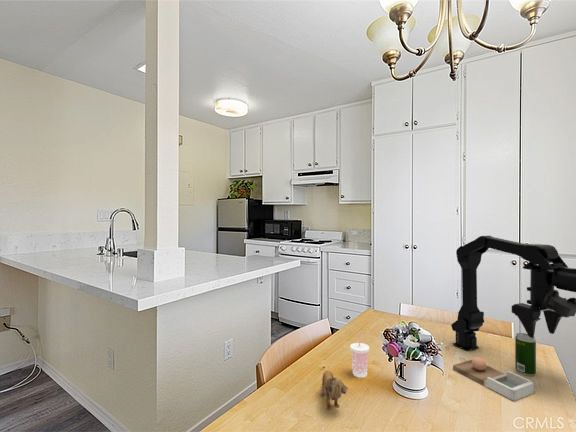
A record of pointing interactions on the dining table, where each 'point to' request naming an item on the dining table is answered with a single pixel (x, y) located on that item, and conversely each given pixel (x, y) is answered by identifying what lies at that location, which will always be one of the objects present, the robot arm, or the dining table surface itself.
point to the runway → (479, 373)
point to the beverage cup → (359, 358)
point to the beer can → (525, 354)
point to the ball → (478, 363)
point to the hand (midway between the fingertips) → (541, 335)
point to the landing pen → (512, 386)
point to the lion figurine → (332, 388)
